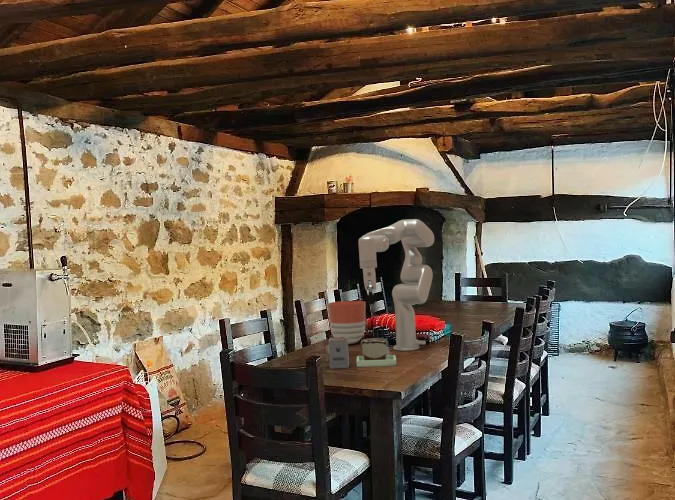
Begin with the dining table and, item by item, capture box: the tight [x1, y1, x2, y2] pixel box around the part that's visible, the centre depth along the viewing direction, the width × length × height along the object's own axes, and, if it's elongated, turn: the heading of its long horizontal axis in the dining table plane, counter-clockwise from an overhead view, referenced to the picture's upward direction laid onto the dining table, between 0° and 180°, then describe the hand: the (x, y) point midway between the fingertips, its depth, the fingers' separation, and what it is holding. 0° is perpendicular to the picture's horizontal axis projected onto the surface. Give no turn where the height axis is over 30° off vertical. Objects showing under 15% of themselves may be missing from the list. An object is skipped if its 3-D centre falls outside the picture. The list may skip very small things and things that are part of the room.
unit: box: [327, 336, 350, 370], centre depth 264 cm, size 8×9×12 cm
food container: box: [360, 337, 389, 360], centre depth 267 cm, size 12×6×10 cm, turn 73°
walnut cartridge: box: [325, 344, 329, 363], centre depth 276 cm, size 5×5×7 cm
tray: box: [355, 354, 397, 368], centre depth 266 cm, size 17×11×2 cm, turn 87°
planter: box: [328, 300, 367, 345], centre depth 321 cm, size 20×20×21 cm
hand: (370, 302), depth 274 cm, fingers open, 9 cm apart
